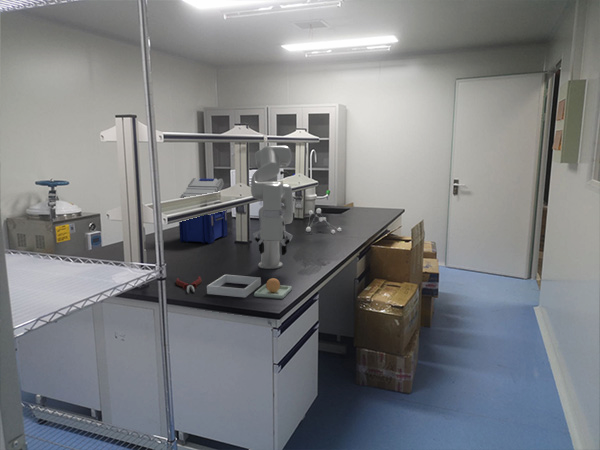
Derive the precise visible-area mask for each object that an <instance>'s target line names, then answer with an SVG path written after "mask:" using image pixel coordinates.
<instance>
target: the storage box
mask: <svg viewBox="0 0 600 450" xmlns="http://www.w3.org/2000/svg"><path fill="white" fill-rule="evenodd" d="M223 187H224V180H223V178H219V179H217V178H200V177H199V178H196V177H194V178H192V179H191V181H190V182H189V184H188V185H187V187H186V190H185V191H183V193H181V195H180V196H179V198H184V197H190V196H196V195H202V194H207V193H213V192H218V191H220V192H221V190H222V189H223ZM227 211H228V210H226V211H223V212H218V213H215V214H211V215H204V216H200V217H197V218H193V219H189V220H186V221H182V222H179V221H178V224H179V227H178V228H179V229H178V230H179V242H180V243H187V244H188V243H191V242H195V243H197V242H198V243H202V244H208V245H210V244H212V243H215V240H216V239H218V238H222V239H223V238H226V237H228V214H227V213H228V212H227ZM184 241H185V242H184Z"/></svg>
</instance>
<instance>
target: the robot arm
mask: <svg viewBox="0 0 600 450" xmlns="http://www.w3.org/2000/svg"><path fill="white" fill-rule="evenodd" d="M292 154H293V153H292V150H291V148H290V147H289V146H287V145H267V146H265V147H262V149H259V150H257V151H256V152H255V153H254V161H255V164H256V167H257V169H256V171H254V173H253V174H252V176H251V179H250V180H251V181H250V192H251V193H250V194H251V196H252V198H253V199H254V200H261V201H262V206H261V207H260V208H259V209H258V221H259V226H260V227H259V230H257V231H255V232H254V233H252V236H253V238H254V240H255V241H256V242H257V244H258V252H259V254H260V257H261V259H260V262H259V263H258V267H259V268H260V269H266V270H275V269H280V268H282V267H283V266H284V265H283V262H281V261H280V258H281V255H282V256H284V255H286V254H287V245H288V244H289V243H290V242H291V240H292V239H293V236H294V235H293V234H291V233H289V232H288V231H287V230H286V225H288V224H291V223H292V222H293V219H294V206H293V205H294V204H293V200H294V199H293V197H294V196H293V189H292V186H291V185H289V184H286V183H285V184H284V183H283V182H280V181H278V175H279V173H280V170H281V169H280V168H285V167H286V168H287V167H289V166H290V164H291V162H292V159H293V158H292V157H293V155H292ZM282 204H283V205H282ZM258 235H259V236H258ZM286 237H287V239H286ZM280 244H282V245H281V255H280Z"/></svg>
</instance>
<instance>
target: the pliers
mask: <svg viewBox="0 0 600 450" xmlns="http://www.w3.org/2000/svg"><path fill="white" fill-rule="evenodd" d="M201 283H202V277H201V276H197V278H196V280H194V281H193V282H191V283H190V284H189V283H187V282H184V281H182V280H180V278H179V277H177V278H176V279H175V284H176V285H177V286H179V287H180V288H181V287H182V289H183V290H186V293H187V294H189V293H190V291H191V292H192V293H195V289H197V288H198V287H197V286H199V285H201Z"/></svg>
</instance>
